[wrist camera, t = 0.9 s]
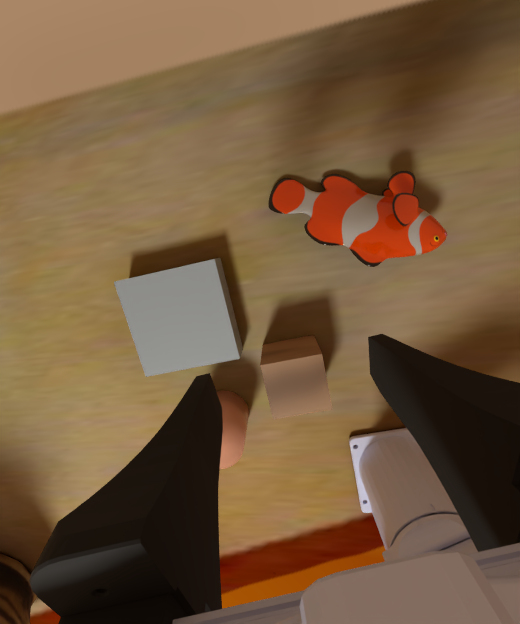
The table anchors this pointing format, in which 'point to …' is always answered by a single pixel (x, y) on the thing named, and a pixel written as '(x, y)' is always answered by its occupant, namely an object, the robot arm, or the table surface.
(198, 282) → the slate slab
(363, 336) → the table surface
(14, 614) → the ceramic jug
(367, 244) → the fish
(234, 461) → the terracotta cylinder
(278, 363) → the walnut cube
